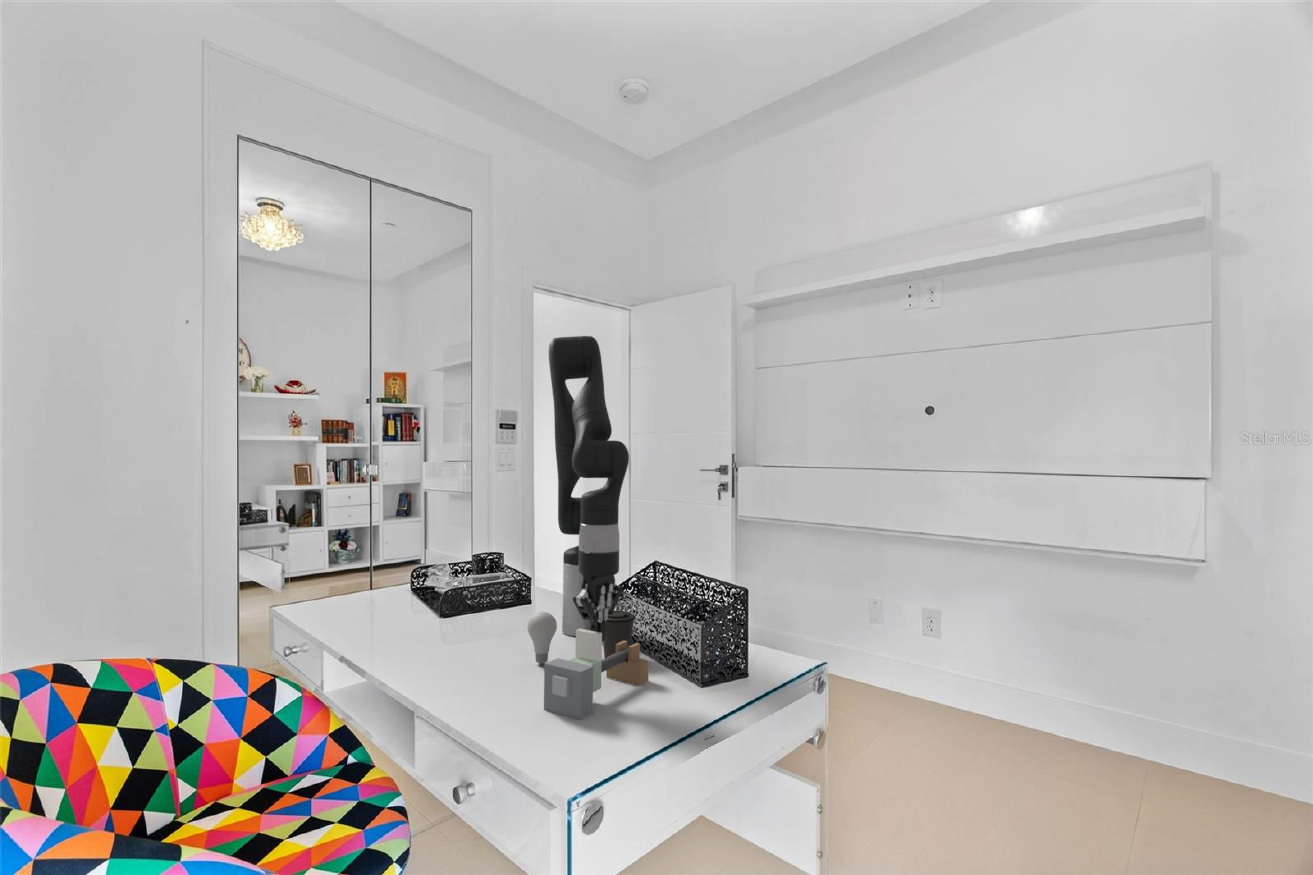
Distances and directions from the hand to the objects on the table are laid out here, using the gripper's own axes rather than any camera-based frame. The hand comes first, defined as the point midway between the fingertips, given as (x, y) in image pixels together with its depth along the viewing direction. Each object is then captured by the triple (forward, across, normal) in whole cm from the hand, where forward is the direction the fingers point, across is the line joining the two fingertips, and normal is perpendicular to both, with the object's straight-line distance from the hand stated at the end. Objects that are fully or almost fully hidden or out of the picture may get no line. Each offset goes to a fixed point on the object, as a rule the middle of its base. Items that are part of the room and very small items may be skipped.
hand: (597, 641), depth 123 cm
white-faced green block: (+8, +4, 0) cm, 9 cm away
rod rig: (+10, -1, 0) cm, 10 cm away
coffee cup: (+10, -20, -9) cm, 24 cm away
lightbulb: (+10, -8, -20) cm, 24 cm away
